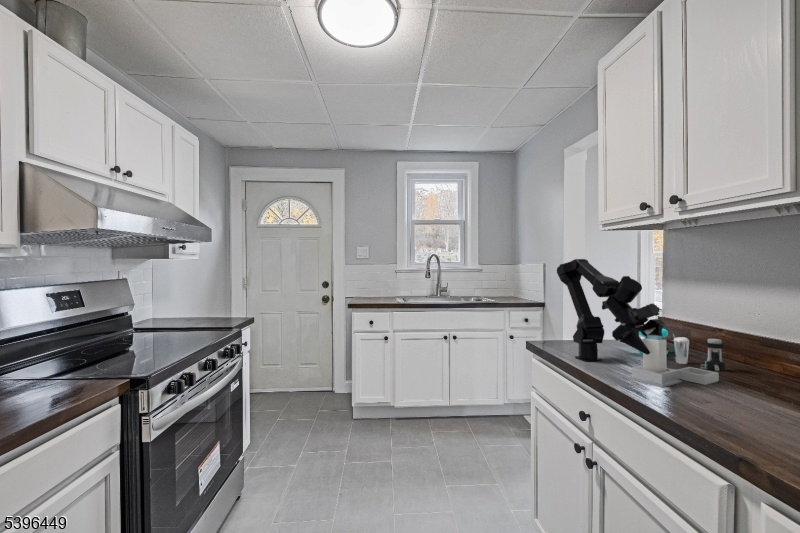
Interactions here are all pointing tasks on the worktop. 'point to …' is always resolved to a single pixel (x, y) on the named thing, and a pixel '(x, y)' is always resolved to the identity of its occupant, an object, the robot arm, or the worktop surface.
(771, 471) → the worktop surface
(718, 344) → the black and grey device
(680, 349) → the milkshake
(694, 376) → the grey square tray
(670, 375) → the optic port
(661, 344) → the plug
